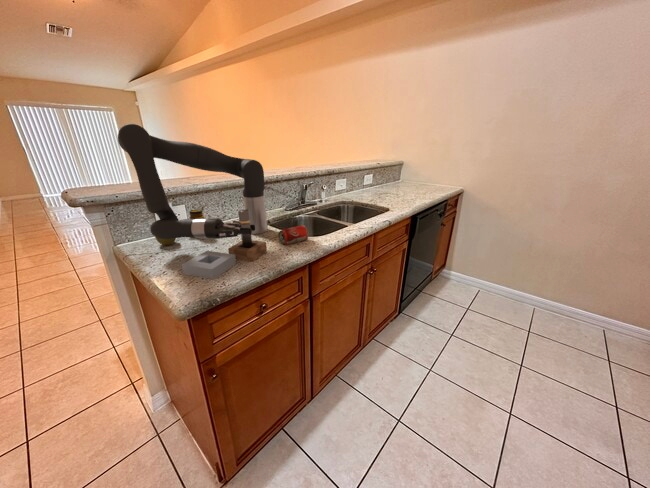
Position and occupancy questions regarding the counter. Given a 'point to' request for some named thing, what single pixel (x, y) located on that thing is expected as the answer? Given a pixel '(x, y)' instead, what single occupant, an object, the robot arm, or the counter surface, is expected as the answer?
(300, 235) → the beverage can
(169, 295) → the counter surface
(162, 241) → the apple
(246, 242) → the gray banded bar
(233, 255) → the socket
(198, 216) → the condiment
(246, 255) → the brown hollow square block
